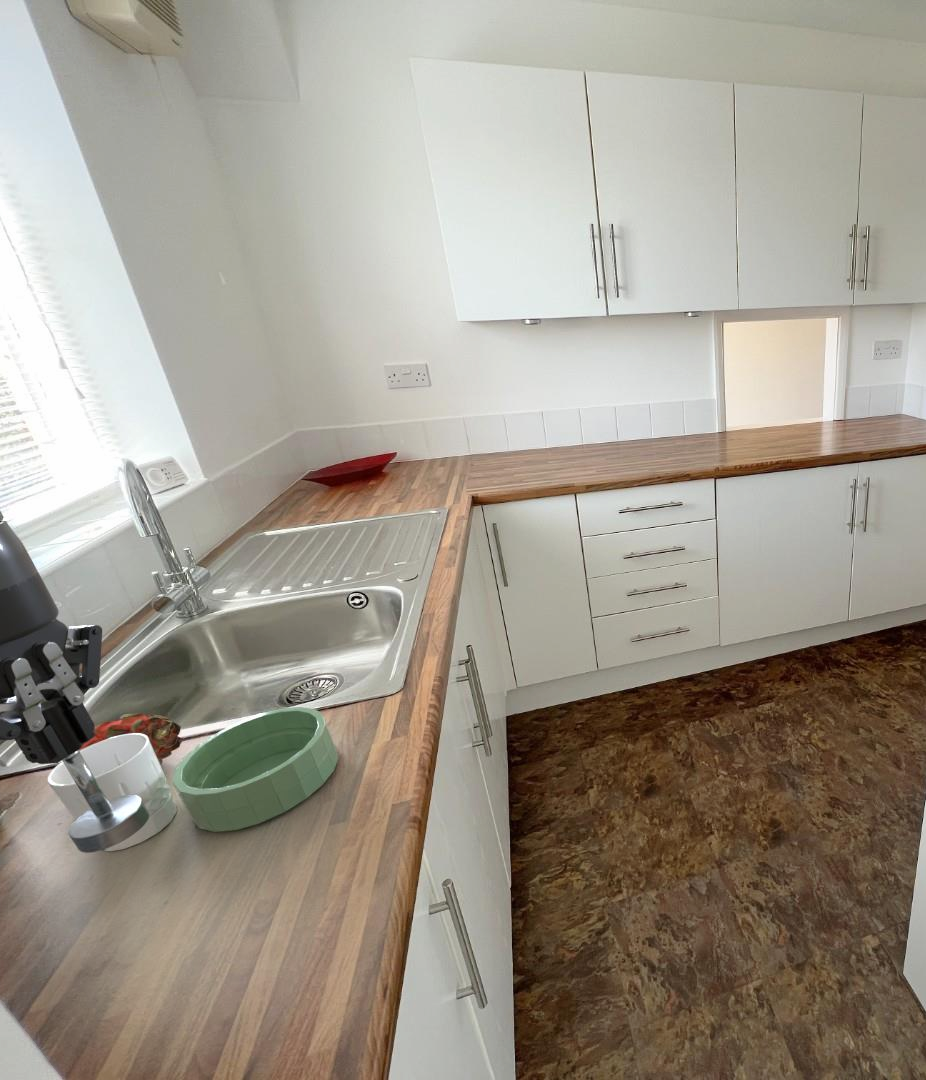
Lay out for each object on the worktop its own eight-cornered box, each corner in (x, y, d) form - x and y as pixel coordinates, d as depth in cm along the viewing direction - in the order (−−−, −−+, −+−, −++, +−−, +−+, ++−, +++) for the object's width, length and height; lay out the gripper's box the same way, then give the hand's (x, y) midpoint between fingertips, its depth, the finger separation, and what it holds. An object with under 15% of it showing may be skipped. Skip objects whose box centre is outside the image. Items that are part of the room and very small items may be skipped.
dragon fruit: (206, 760, 78) (90, 816, 73) (189, 708, 81) (76, 757, 76) (171, 744, 72) (40, 804, 66) (154, 687, 75) (27, 740, 69)
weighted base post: (61, 855, 55) (-21, 728, 50) (112, 811, 60) (42, 690, 55) (117, 851, 55) (41, 723, 50) (163, 807, 60) (99, 687, 55)
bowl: (159, 840, 64) (136, 799, 62) (251, 748, 78) (235, 711, 76) (293, 830, 65) (274, 788, 63) (361, 739, 78) (348, 703, 76)
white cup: (90, 830, 66) (47, 761, 63) (179, 789, 72) (145, 723, 68) (92, 870, 61) (46, 798, 58) (188, 823, 67) (151, 754, 63)
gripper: (12, 552, 54) (96, 706, 60) (-199, 629, 41) (-64, 813, 48) (95, 548, 54) (170, 701, 61) (-89, 622, 41) (30, 807, 48)
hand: (67, 750), depth 54 cm, fingers closed on weighted base post
